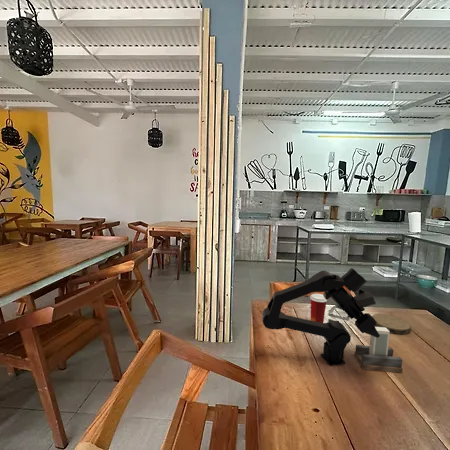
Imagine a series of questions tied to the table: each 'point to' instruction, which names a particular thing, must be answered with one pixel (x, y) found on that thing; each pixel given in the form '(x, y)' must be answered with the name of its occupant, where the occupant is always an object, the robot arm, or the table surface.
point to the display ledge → (378, 360)
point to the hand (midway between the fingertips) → (372, 330)
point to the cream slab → (379, 342)
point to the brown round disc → (392, 324)
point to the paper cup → (318, 307)
